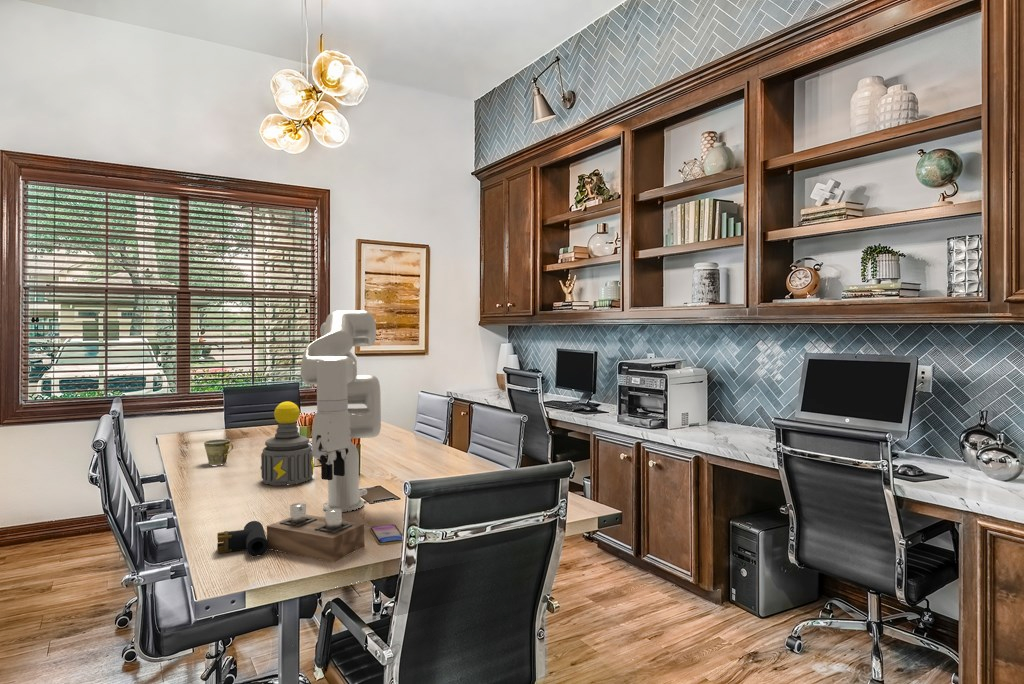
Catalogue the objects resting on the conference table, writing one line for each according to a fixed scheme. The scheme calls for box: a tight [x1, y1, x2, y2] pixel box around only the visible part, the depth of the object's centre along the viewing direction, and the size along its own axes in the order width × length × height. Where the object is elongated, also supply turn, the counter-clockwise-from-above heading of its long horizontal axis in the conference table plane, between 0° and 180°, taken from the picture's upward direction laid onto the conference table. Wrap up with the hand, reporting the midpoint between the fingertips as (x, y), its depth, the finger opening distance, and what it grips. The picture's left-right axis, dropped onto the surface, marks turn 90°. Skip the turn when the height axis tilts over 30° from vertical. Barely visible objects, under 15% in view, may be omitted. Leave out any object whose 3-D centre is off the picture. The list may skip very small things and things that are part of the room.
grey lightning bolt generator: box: [260, 401, 315, 486], centre depth 232 cm, size 19×19×30 cm
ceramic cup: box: [203, 438, 234, 466], centre depth 259 cm, size 13×10×10 cm
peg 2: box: [324, 508, 343, 531], centre depth 158 cm, size 4×4×6 cm
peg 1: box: [289, 502, 307, 525], centre depth 163 cm, size 4×4×6 cm
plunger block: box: [266, 513, 365, 563], centre depth 160 cm, size 12×22×6 cm, turn 65°
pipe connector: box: [216, 520, 269, 557], centre depth 160 cm, size 12×5×15 cm
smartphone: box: [369, 524, 403, 546], centre depth 170 cm, size 8×15×1 cm, turn 23°
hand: (333, 476), depth 158 cm, fingers open, 3 cm apart
